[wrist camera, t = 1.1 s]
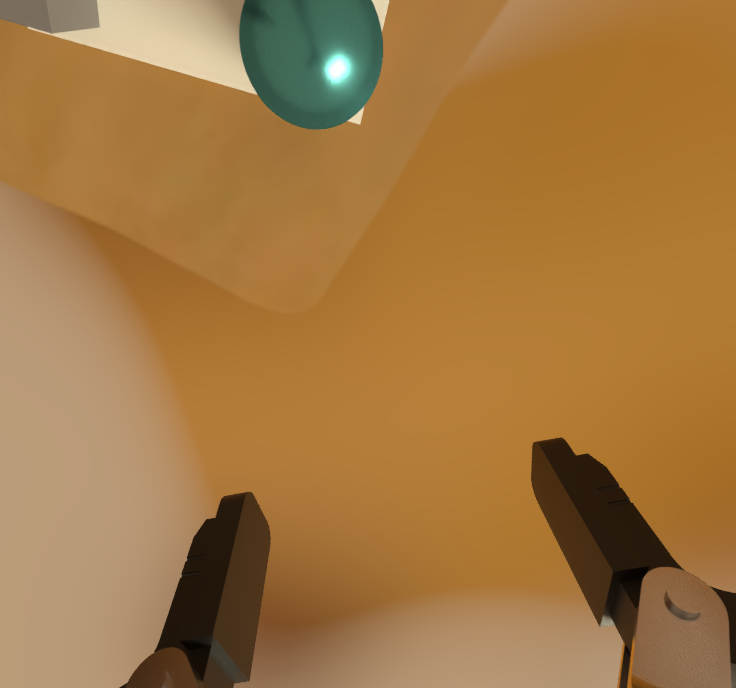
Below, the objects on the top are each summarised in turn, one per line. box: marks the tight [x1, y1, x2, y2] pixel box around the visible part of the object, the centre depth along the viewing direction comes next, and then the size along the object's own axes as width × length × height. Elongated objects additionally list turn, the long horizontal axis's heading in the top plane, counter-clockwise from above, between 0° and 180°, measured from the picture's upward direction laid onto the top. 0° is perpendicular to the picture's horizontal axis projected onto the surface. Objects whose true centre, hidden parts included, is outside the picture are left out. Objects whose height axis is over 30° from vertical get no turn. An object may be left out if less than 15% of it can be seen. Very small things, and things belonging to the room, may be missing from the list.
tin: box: [239, 0, 383, 129], centre depth 20 cm, size 6×6×7 cm
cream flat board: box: [0, 0, 389, 124], centre depth 20 cm, size 18×7×6 cm, turn 74°
